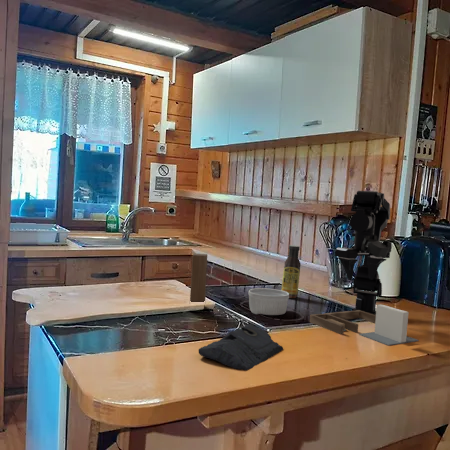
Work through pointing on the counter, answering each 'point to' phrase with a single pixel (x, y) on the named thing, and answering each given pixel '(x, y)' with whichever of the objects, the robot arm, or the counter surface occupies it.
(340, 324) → the offcut upper
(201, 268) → the wooden block
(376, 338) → the mat
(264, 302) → the ramekin
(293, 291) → the sauce bottle
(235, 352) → the folded dark cloth
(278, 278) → the counter surface
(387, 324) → the board
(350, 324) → the rack
